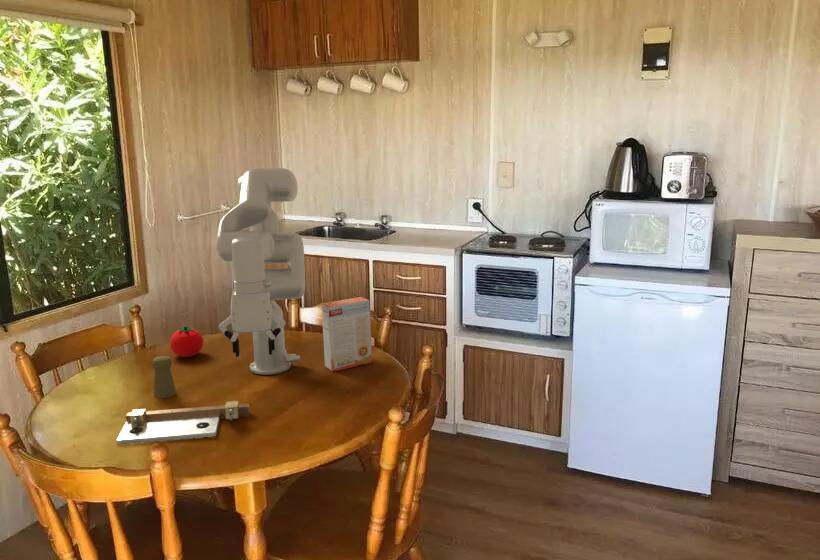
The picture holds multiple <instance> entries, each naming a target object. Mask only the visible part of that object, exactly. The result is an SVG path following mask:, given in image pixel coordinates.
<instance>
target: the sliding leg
mask: <svg viewBox="0 0 820 560" xmlns="http://www.w3.org/2000/svg"><path fill="white" fill-rule="evenodd" d="M239 404H240V403H239V400H232V401H231V400H229V401H225V405H226V406H225V413H226V418H225V419H226V420H229V421H233V419H239V417H238V416H239Z"/></svg>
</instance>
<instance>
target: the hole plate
mask: <svg viewBox="0 0 820 560" xmlns="http://www.w3.org/2000/svg"><path fill="white" fill-rule="evenodd" d="M238 404H239V416H238V418H243V417H250V415H251V414H250V413H251V411H250V410H251V409H250V403H241V404H240V403H238ZM225 406H226V404H223V405H213V406H212V405H211V406H201V407H200V406H198V407H185V408H172V409H171V408H169V409H159V410H157V409H156V410H147V409H146V408H140V409H139V408H136V409H132V411H130V412H127V413H126V415H125V418H126V419H125V420H126V422H125V424H124V425H123V427H122V429H121V431H120V433H119V435H118V436H117V439H116V445H117V446H119V445H118V444H122V445H130V444H129V443H134V444H142V443H141V442H146V443H155V442H154V441H159V442H167V440H169V441H168V442H170V440H171V441H181V439H183V440H194V439H193V438H195V439H204V437H208V438H216V437H217V432H218V429H219V426H220V425H219V423H220V420H221V419H226V413H225ZM213 436H214V437H213ZM215 436H216V437H215ZM127 443H128V444H127Z"/></svg>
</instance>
